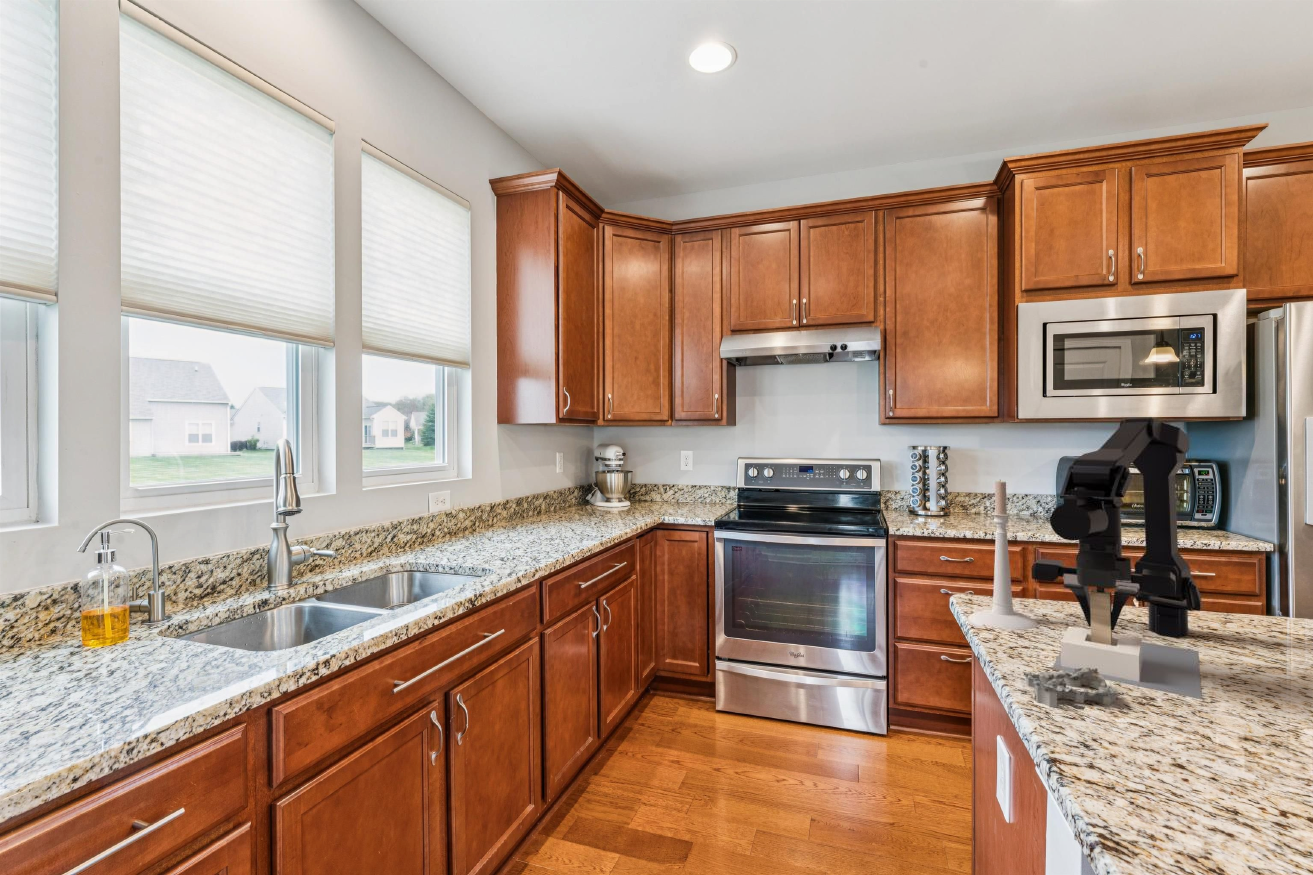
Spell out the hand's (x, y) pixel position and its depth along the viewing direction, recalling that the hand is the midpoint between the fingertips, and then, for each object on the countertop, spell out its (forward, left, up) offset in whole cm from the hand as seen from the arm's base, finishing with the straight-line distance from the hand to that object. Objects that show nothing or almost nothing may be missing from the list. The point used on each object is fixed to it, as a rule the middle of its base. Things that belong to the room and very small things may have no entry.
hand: (1101, 627), depth 97 cm
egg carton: (+16, -3, -8) cm, 18 cm away
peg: (0, 0, -4) cm, 4 cm away
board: (-5, +3, -7) cm, 9 cm away
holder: (0, 0, -6) cm, 6 cm away
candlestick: (-16, -18, -7) cm, 25 cm away
